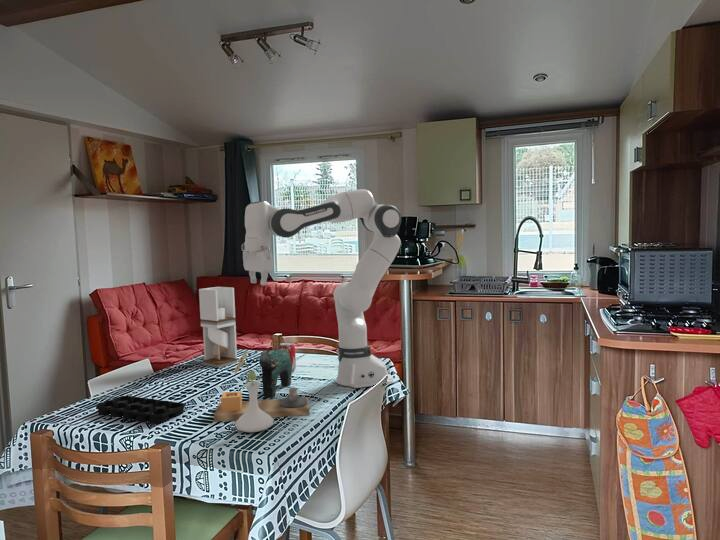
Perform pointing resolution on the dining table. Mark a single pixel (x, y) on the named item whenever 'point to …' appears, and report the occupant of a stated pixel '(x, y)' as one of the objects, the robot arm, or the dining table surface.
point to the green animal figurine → (275, 369)
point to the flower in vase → (252, 405)
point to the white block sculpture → (218, 326)
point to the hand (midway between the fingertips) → (258, 284)
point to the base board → (269, 407)
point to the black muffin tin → (141, 409)
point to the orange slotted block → (231, 401)
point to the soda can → (290, 352)
